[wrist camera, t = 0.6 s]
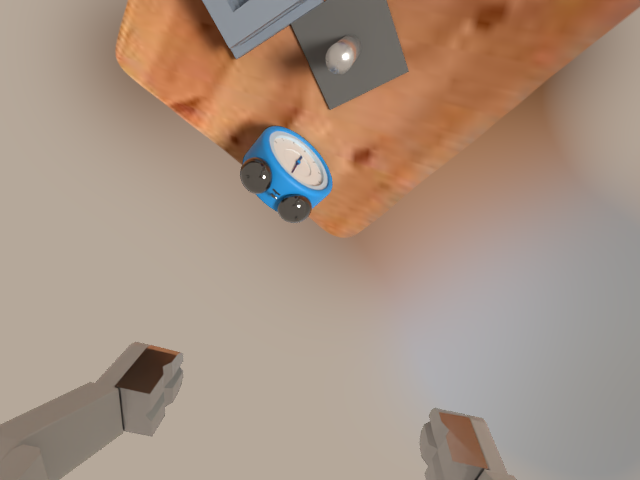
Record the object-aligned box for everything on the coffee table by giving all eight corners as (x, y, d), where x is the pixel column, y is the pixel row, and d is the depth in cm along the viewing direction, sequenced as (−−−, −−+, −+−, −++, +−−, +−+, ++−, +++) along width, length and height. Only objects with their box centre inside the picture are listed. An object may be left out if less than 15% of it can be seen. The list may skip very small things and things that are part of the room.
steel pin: (355, 29, 40) (345, 37, 33) (364, 53, 42) (357, 66, 34) (335, 41, 42) (320, 51, 34) (344, 64, 43) (332, 79, 35)
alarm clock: (339, 169, 53) (323, 217, 42) (316, 191, 57) (294, 241, 45) (280, 113, 49) (244, 149, 38) (259, 140, 53) (220, 180, 41)
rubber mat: (376, -33, 37) (376, -33, 36) (408, 70, 42) (408, 71, 42) (291, 23, 42) (290, 23, 42) (330, 109, 47) (330, 109, 47)
